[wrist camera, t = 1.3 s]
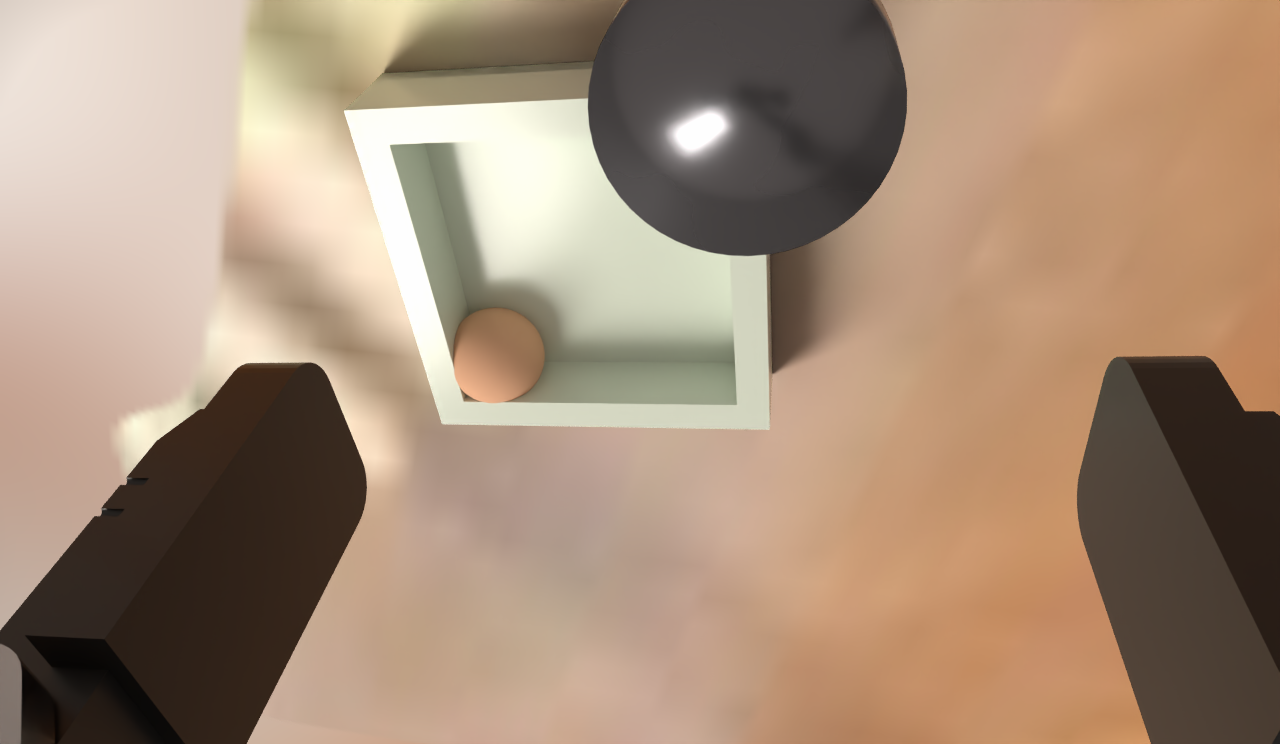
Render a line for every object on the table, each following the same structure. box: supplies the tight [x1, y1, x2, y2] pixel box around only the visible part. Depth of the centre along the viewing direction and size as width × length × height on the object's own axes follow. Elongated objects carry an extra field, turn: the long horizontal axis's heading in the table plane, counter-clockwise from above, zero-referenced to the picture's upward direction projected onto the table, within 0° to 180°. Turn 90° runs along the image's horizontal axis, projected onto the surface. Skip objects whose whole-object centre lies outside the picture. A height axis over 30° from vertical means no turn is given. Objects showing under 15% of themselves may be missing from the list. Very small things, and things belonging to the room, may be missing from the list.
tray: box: [344, 61, 772, 430], centre depth 27 cm, size 11×11×3 cm
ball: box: [453, 308, 545, 403], centre depth 30 cm, size 3×3×3 cm
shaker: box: [588, 0, 907, 256], centre depth 18 cm, size 5×5×11 cm
